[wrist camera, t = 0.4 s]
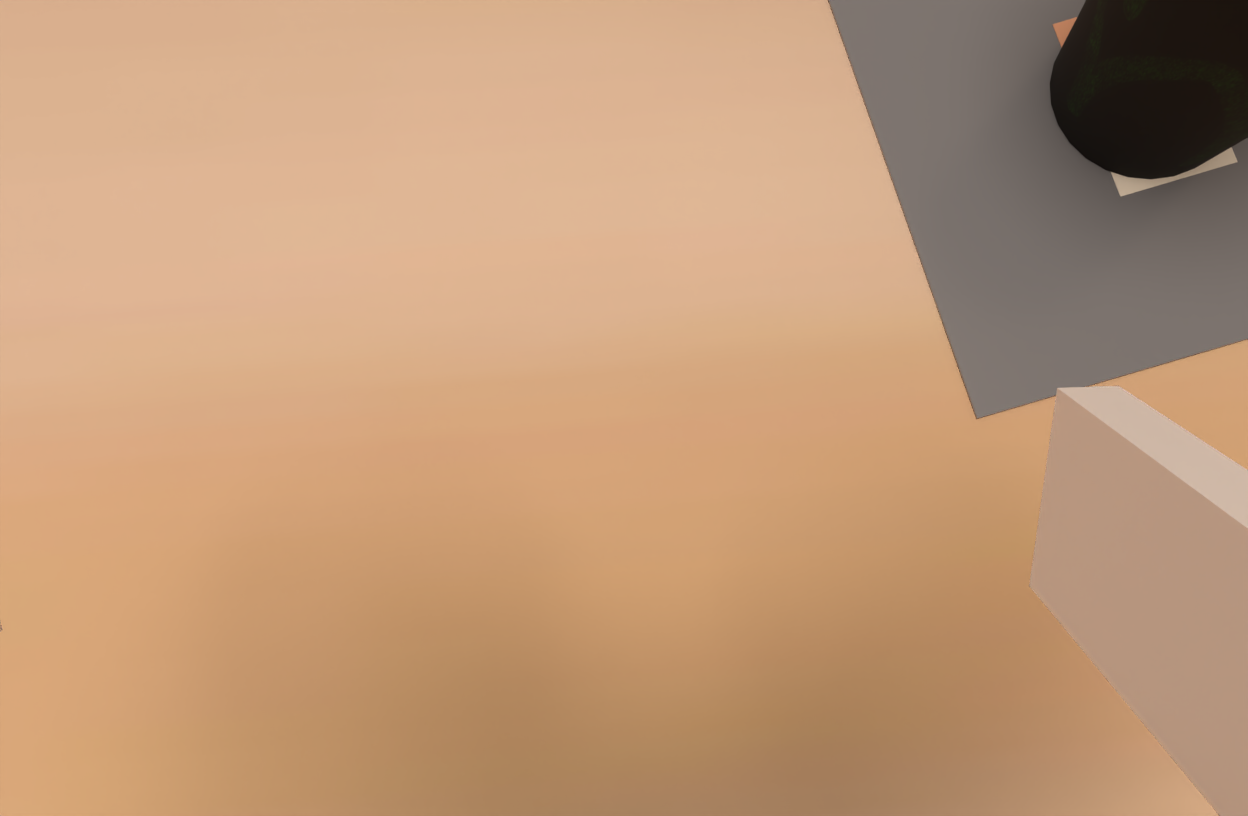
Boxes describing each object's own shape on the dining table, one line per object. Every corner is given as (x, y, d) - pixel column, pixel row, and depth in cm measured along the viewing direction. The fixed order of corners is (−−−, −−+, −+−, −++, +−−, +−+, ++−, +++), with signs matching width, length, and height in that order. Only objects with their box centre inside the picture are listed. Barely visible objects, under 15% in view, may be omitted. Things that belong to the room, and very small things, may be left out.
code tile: (1485, 271, 31) (1512, 260, 30) (968, 423, 31) (977, 418, 30) (1277, -185, 33) (1296, -209, 32) (803, -43, 33) (807, -63, 32)
